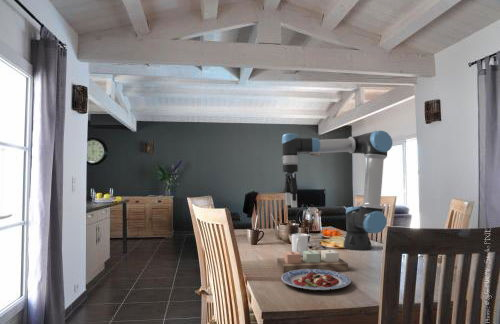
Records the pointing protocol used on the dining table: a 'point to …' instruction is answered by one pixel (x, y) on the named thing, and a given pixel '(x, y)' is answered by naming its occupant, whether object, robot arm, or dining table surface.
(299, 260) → the tile three
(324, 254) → the tile one
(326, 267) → the button board
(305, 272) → the ceramic plate
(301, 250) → the cup
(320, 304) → the dining table surface
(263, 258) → the dining table surface
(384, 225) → the robot arm
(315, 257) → the tile two
